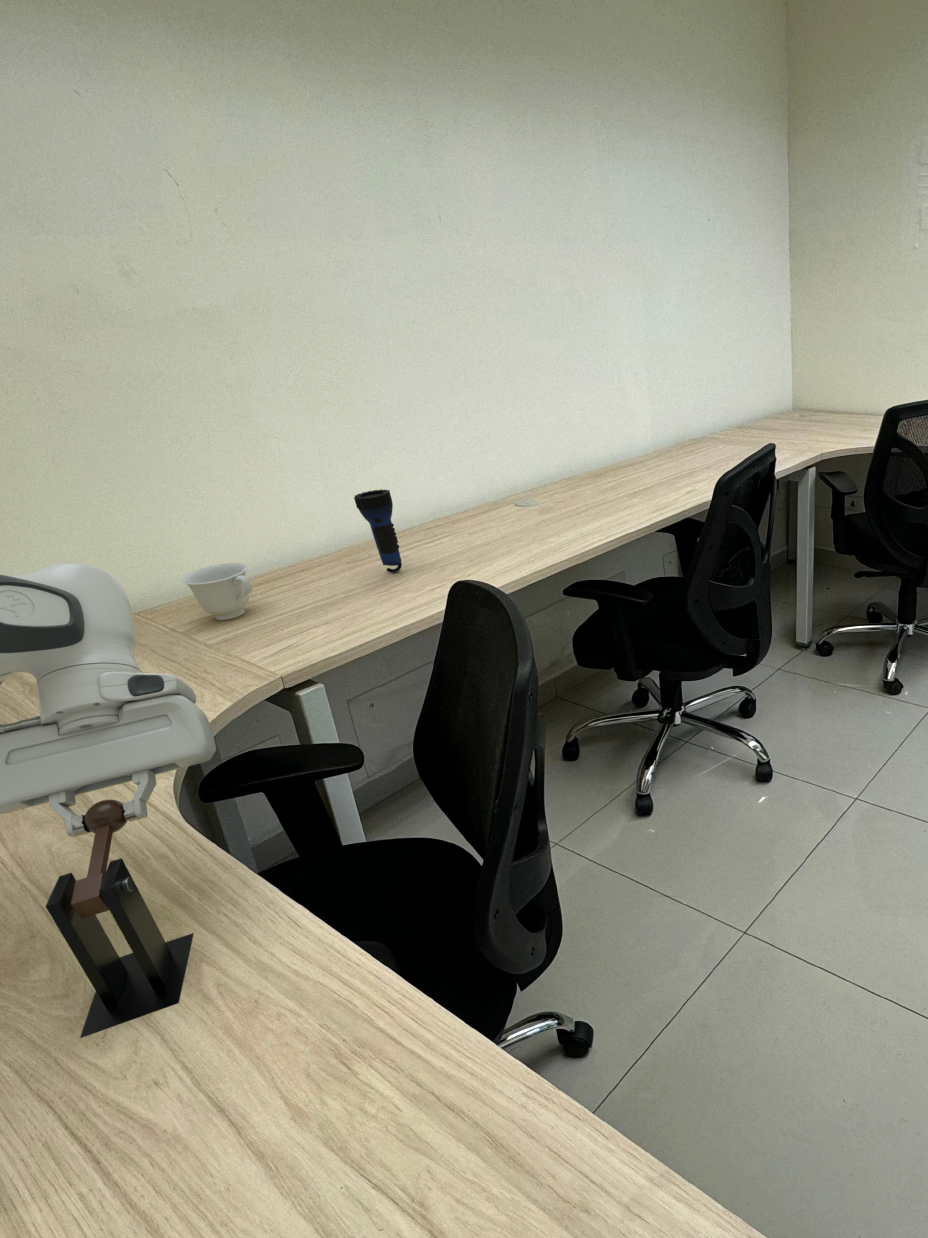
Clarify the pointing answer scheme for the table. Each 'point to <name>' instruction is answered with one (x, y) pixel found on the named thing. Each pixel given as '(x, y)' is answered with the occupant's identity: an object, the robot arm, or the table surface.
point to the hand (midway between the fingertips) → (108, 826)
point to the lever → (97, 856)
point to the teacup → (221, 589)
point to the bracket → (117, 980)
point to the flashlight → (381, 524)
